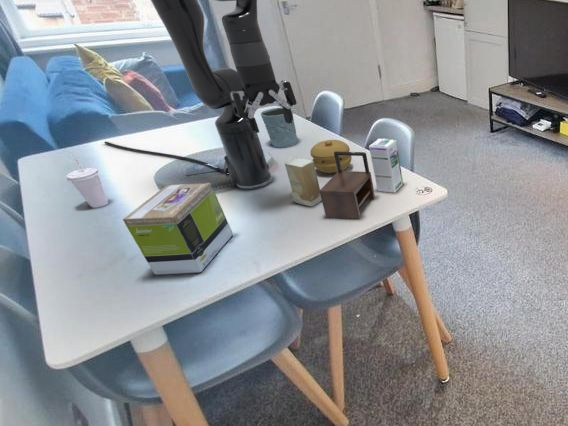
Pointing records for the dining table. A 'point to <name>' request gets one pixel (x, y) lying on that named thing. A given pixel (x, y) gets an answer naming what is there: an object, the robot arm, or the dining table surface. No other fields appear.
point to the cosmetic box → (303, 181)
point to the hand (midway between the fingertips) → (273, 127)
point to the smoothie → (88, 185)
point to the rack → (347, 190)
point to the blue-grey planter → (279, 128)
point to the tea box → (179, 228)
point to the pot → (330, 155)
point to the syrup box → (386, 165)
